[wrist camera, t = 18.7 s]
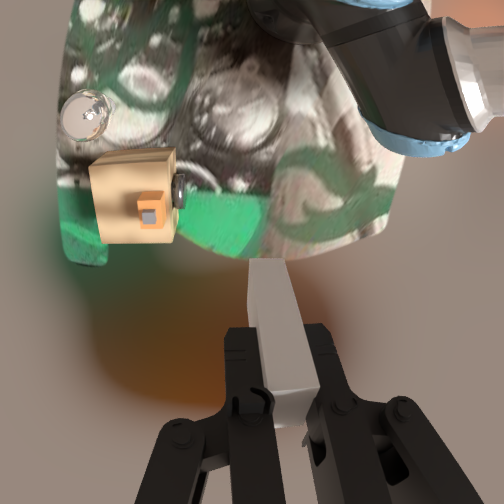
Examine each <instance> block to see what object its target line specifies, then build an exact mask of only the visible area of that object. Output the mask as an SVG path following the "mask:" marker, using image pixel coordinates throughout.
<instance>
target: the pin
mask: <svg viewBox="0 0 504 504" xmlns="http://www.w3.org/2000/svg"><path fill="white" fill-rule="evenodd" d="M171 196H172V202H174V204H175V208H176V209H185V206H186V176H185V174H176V175H175V180H174V182H171Z"/></svg>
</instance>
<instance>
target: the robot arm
mask: <svg viewBox="0 0 504 504" xmlns="http://www.w3.org/2000/svg"><path fill="white" fill-rule="evenodd" d="M247 5H248V9H249V11H250V13H251V15H252V17H253V19H254V20H255V21H256V23H257V24H258V25H259V26H260V27H261V28H262V29H263V30H264V31H266V32H267V33H268V34H270V35H272V36H273V37H275V38H277V39H280V40H282V41H285V42H288V43H293V44H300V45H309V44H316V43H320V42H323V43H324V44H325V46H326V48H327V50H328V51H329V53H330V55H331V56H332V58H333V60H334V62H335V63H336V65H337V67H338V69H339V70H340V72H341V74H342V76H343V77H344V79H345V81H346V83H347V85H348V87H349V89H350V91H351V92H352V94H353V96H354V98H355V100H356V102H357V104H358V110H359V113H360V115H361V116H362V118H363V119H364V120H365V121H366V122H367V124H368V126H369V128H370V130H371V132H372V134H373V136H374V137H375V139H376V140H377V141H378V142H379V143H380V144H381V145H382V146H383V147H385V148H387V149H388V150H390V151H392V152H395V153H398V154H401V155H405V156H411V157H435V156H441V155H444V152H445V151H449V152H454V151H456V150H458V149H460V148H462V147H463V146H464V145H465V144H466V143H467V142H468V140H469V137H470V134H471V132H482V131H483V129H484V128H485V127H486V125H487V124H488V123H489V121H490V120H491V119H492V118H493V117H495V116H504V26H492V27H481V28H472V29H471V28H468V27H465V26H464V25H462V24H460V23H459V22H457V21H456V20H454V19H452V18H451V17H448V16H447V17H440V18H434V19H431V18H430V16H429V15H428V13H427V11H426V9H425V7H424V5H423V3H422V2H421V0H247ZM247 309H248V318H249V327H241V328H229V329H228V332H227V334H226V335H225V337H224V354H225V355H224V356H225V385H226V386H225V387H226V401H225V404H224V406H223V407H222V409H221V410H220V411H219V412H218V413H216V414H215V415H213V416H211V417H208V418H205V419H201V420H198V421H195V422H194V421H192V420H189V419H184V418H178V419H174V420H170V421H169V422H167V423H166V424H165V425H164V426H163V428H162V429H161V430H160V432H159V435H158V438H157V440H156V443H155V446H154V449H153V452H152V454H151V457H150V460H149V463H148V466H147V469H146V472H145V474H144V477H143V480H142V483H141V486H140V489H139V492H138V494H137V497H136V500H135V503H134V504H201V502H202V498H203V494H204V490H205V487H206V482H207V479H208V475H209V471H212V470H215V469H218V468H221V467H224V466H227V465H230V477H231V478H230V479H231V491H232V492H231V493H232V504H286V501H285V494H284V488H283V482H282V474H281V468H280V461H279V454H278V449H277V441H276V436H275V428H281V427H291V426H300V425H303V424H304V422H305V420H306V422H307V427H308V431H307V433H306V435H305V437H304V439H303V441H302V447H305V446H306V444H307V447H308V452H309V457H310V463H311V468H312V473H313V479H314V484H315V489H316V494H317V500H318V504H484V503H483V501H482V500H481V498H480V497H479V495H478V493H477V492H476V490H475V489H474V487H473V485H472V484H471V482H470V481H469V479H468V478H467V476H466V475H465V473H464V472H463V470H462V469H461V467H460V466H459V464H458V463H457V461H456V460H455V458H454V457H453V455H452V454H451V452H450V451H449V449H448V448H447V446H446V445H445V443H444V442H443V440H442V439H441V438H440V436H439V435H438V433H437V432H436V430H435V429H434V427H433V426H432V425H431V423H430V422H429V420H428V419H427V418H426V416H425V415H424V413H423V412H422V411H421V409H420V408H419V406H418V405H417V404H416V403H415V402H414V401H413V400H412V399H410V398H408V397H406V396H397V397H394V398H392V399H391V400H390V401H388V403H380V402H372V401H367V400H363V399H361V398H359V397H358V396H357V395H356V394H354V393H353V392H352V391H351V390H350V387H349V385H348V383H347V380H346V377H345V374H344V371H343V368H342V365H341V362H340V359H339V356H338V354H337V350H336V347H335V346H334V342H333V339H332V336H331V333H330V332H329V331H328V329H327V328H326V327H325V326H324V325H323V324H322V323H317V324H303V323H302V319H301V316H300V312H299V309H298V305H297V302H296V298H295V295H294V291H293V288H292V285H291V281H290V278H289V275H288V271H287V268H286V264H285V261H284V258H250V261H249V279H248V298H247Z"/></svg>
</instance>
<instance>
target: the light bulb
mask: <svg viewBox="0 0 504 504" xmlns="http://www.w3.org/2000/svg"><path fill="white" fill-rule="evenodd" d="M114 112H115V103H114V101H113V100H112V99H110V98H108V97H107V96H106V95H105V94H103V93H102V92H100V91H98V90H95V89H84V90H80V91H78V92H76V93H74V94H73V95H72V96H70V97H69V98H68V100H67V101H66V102H65V104H64V105H63V107H62V110H61V114H60V124H61V127H62V130H63V132H64V133H65V134H66V135H67V136H68V137H69V138H70V139H72V140H74V141H78V142H88V141H92V140H94V139H96V138H98V137H99V136H101V135H102V134H103V133H104V132H105V131H106V129H107V128H108V126H109V124H110V122H111V118H112V115H113V114H114Z"/></svg>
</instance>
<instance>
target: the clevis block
mask: <svg viewBox="0 0 504 504" xmlns="http://www.w3.org/2000/svg"><path fill="white" fill-rule="evenodd" d="M89 174H90V181H91V188H92V194H93V200H94V206H95V211H96V217H97V222H98V227H99V232H100V236H101V241H102V244H108V243H172V242H173V238H174V234H175V230H176V226H177V223H178V219H179V215H178V209H176V208H175V204H174V202H172V196H171V182H174V180H175V175H176V153H175V147H166V148H146V149H131V150H118V151H107V152H106V153H105V154H104V155H102V156H101V157H100V158H99V159H97V160H96V161H95V162H94V163H92V164H91V165H90V166H89ZM148 191H164V192H165V205H166V217H167V218H166V221H165V224H164V227H163V229H141V227H140V220H139V212H138V204H137V200H138V199H139V197H140V195H141V194H142V192H148Z"/></svg>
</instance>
